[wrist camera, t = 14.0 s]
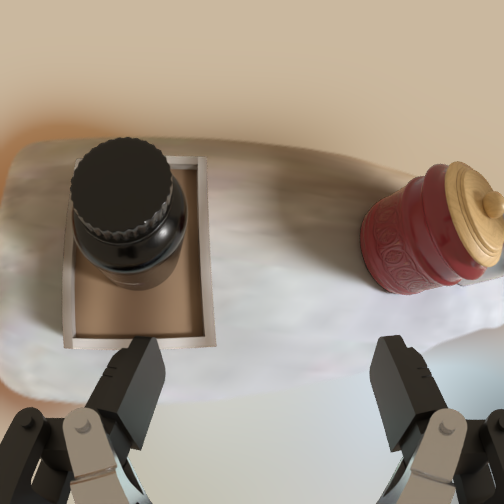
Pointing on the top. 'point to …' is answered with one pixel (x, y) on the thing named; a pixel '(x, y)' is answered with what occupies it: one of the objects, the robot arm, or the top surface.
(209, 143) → the top surface
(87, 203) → the supplement bottle
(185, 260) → the open rectangular tray
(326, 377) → the top surface
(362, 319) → the top surface
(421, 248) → the canister
